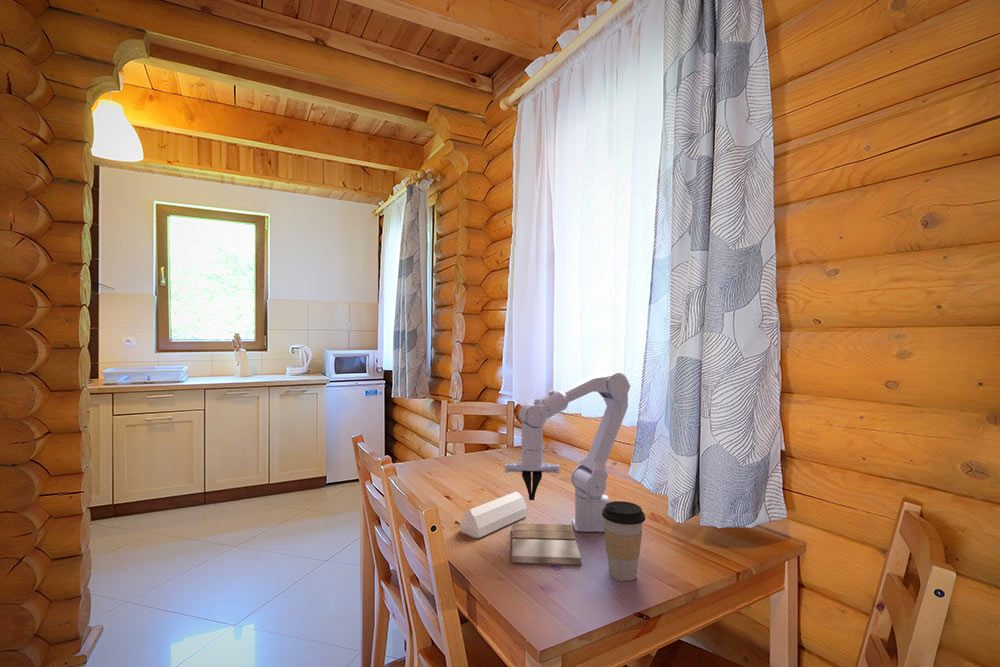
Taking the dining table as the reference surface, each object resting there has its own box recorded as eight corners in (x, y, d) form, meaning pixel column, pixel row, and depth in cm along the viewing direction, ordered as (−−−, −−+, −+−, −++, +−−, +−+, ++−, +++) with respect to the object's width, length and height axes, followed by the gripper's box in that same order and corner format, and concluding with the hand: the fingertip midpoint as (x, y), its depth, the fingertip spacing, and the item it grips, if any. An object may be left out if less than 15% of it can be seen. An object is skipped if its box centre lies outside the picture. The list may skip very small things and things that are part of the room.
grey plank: (575, 546, 116) (575, 540, 116) (580, 564, 107) (580, 557, 107) (512, 544, 117) (512, 538, 117) (511, 562, 108) (511, 555, 108)
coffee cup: (593, 574, 104) (593, 506, 104) (615, 560, 110) (616, 496, 110) (631, 590, 97) (631, 518, 97) (652, 574, 103) (653, 507, 104)
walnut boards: (571, 530, 126) (571, 524, 126) (575, 544, 117) (575, 539, 117) (512, 528, 127) (513, 523, 127) (512, 543, 118) (512, 537, 118)
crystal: (479, 529, 118) (536, 504, 136) (462, 509, 122) (519, 487, 140) (468, 550, 120) (526, 523, 138) (452, 529, 125) (510, 506, 143)
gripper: (557, 445, 128) (557, 494, 128) (505, 444, 129) (505, 493, 129) (560, 451, 121) (559, 503, 121) (504, 450, 122) (504, 502, 122)
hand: (531, 499), depth 124 cm, fingers closed
